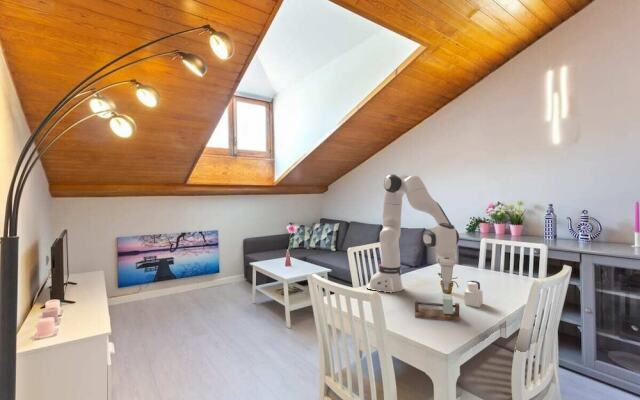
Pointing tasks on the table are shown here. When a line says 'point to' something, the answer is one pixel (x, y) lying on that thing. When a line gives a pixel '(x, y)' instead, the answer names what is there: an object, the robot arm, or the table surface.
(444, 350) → the table surface
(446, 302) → the marker sleeve
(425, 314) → the rail
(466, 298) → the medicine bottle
